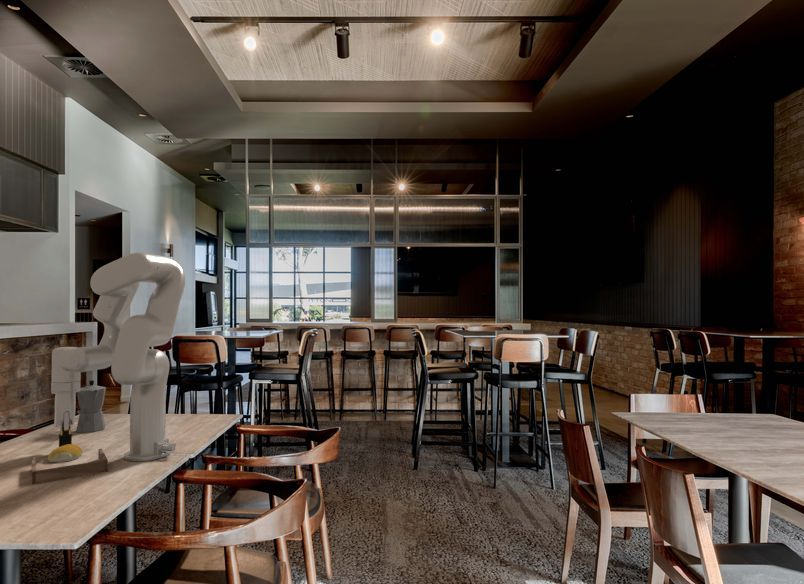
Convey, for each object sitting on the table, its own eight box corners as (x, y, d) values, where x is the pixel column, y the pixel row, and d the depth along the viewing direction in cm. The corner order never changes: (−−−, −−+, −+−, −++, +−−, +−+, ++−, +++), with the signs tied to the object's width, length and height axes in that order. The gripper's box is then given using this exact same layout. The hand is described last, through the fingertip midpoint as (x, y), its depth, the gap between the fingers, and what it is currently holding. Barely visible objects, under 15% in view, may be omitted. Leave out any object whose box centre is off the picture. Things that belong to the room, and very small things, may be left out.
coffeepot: (110, 430, 185) (111, 380, 186) (80, 435, 179) (81, 383, 179) (99, 424, 196) (99, 376, 197) (70, 428, 190) (71, 379, 191)
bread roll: (84, 453, 157) (84, 440, 157) (77, 461, 149) (78, 447, 149) (52, 456, 154) (52, 442, 154) (44, 464, 146) (44, 450, 146)
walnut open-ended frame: (31, 469, 140) (31, 458, 141) (101, 458, 150) (101, 448, 150) (31, 484, 128) (31, 472, 129) (107, 471, 138) (107, 460, 138)
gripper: (50, 385, 162) (49, 444, 161) (51, 391, 150) (51, 455, 149) (78, 383, 166) (78, 440, 166) (82, 389, 154) (81, 450, 154)
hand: (65, 447), depth 158 cm, fingers closed
